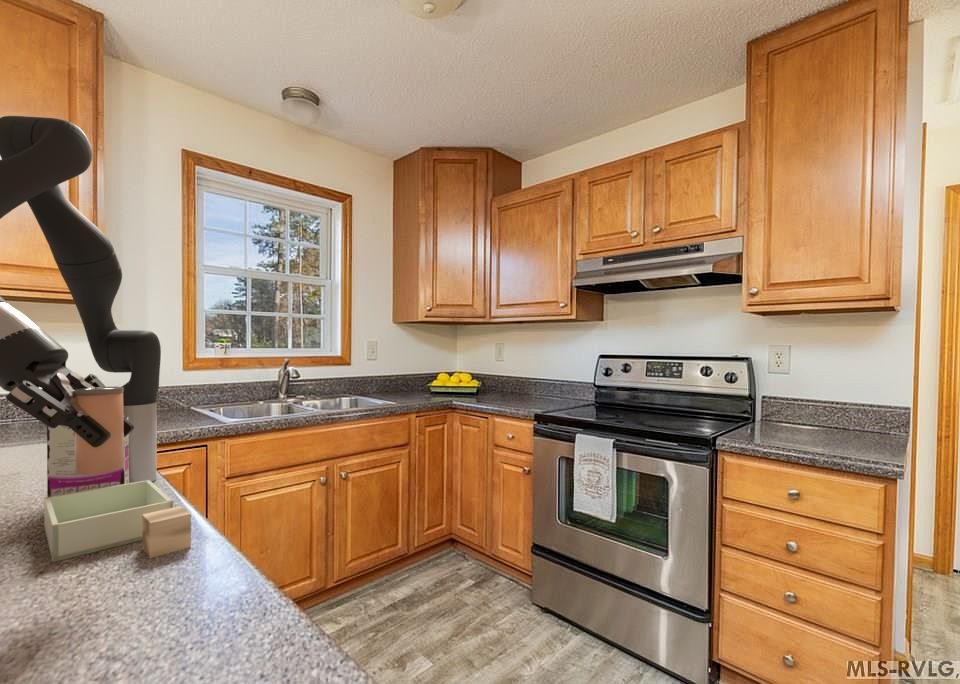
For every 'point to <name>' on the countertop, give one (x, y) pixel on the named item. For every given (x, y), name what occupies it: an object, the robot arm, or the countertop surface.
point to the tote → (99, 517)
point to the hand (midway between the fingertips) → (116, 437)
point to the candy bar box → (63, 466)
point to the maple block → (166, 531)
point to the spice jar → (109, 414)
